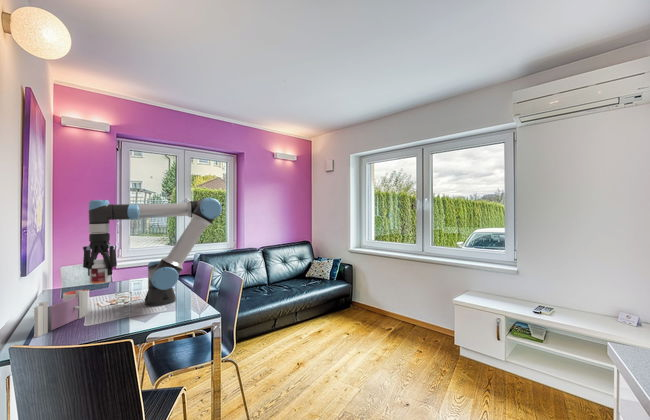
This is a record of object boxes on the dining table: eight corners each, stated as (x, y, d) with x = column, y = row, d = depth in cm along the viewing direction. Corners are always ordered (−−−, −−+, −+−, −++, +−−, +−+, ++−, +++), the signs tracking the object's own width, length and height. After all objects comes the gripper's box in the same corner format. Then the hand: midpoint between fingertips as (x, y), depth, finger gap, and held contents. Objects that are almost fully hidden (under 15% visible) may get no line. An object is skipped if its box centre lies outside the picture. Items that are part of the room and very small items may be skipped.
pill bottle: (90, 283, 132) (90, 259, 132) (106, 280, 137) (106, 258, 137) (93, 285, 128) (93, 261, 128) (110, 282, 133) (109, 259, 133)
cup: (73, 315, 138) (73, 295, 138) (57, 314, 140) (57, 294, 140) (94, 309, 148) (94, 289, 148) (78, 308, 150) (78, 289, 150)
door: (81, 318, 133) (81, 297, 134) (52, 331, 119) (52, 307, 119) (75, 318, 133) (75, 297, 133) (45, 331, 118) (45, 307, 119)
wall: (87, 315, 139) (87, 288, 139) (38, 337, 114) (38, 304, 114) (84, 315, 139) (84, 288, 139) (33, 337, 114) (33, 304, 114)
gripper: (125, 231, 136) (126, 279, 136) (84, 232, 136) (85, 281, 136) (115, 233, 129) (115, 283, 129) (71, 234, 128) (72, 285, 128)
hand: (100, 282), depth 132 cm, fingers closed on pill bottle, 6 cm apart
